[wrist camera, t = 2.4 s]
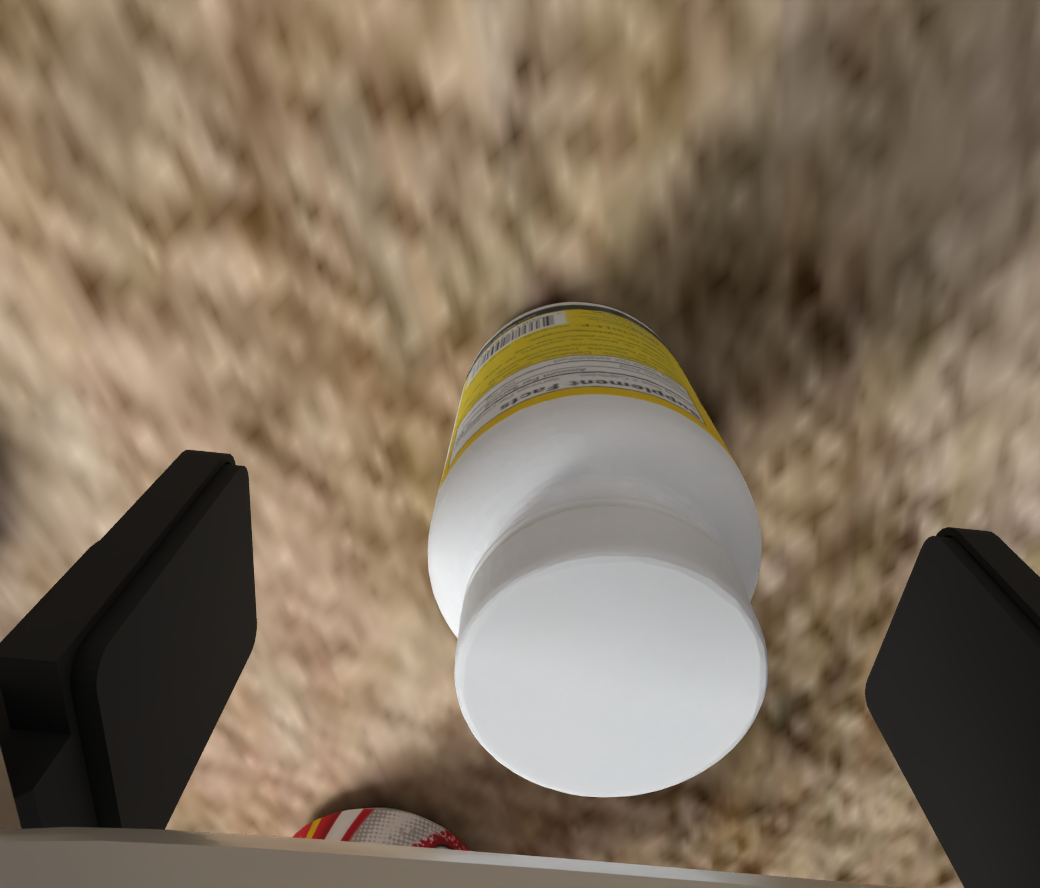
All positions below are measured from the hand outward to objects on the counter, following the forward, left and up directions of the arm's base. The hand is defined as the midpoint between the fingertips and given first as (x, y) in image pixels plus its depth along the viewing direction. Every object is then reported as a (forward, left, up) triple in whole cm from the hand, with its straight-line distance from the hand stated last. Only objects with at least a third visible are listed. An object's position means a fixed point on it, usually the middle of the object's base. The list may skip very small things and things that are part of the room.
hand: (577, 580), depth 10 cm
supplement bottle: (0, +1, -9) cm, 9 cm away
